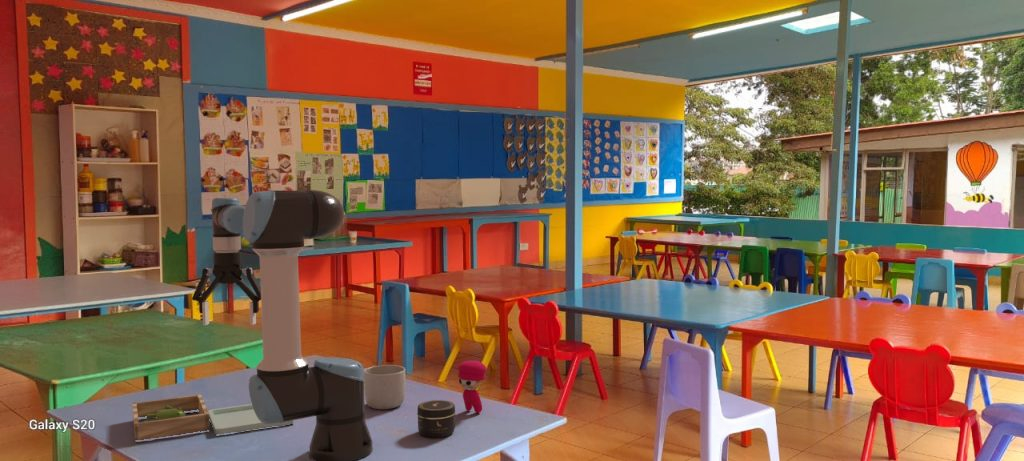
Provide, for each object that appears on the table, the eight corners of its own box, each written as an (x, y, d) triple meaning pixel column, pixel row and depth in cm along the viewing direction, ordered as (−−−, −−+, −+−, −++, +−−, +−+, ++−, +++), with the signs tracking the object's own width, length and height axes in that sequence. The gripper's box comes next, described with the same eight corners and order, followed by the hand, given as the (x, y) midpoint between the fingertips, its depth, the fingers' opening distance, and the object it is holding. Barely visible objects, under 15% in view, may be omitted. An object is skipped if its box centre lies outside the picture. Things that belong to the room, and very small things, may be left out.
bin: (209, 432, 204) (209, 413, 203) (135, 443, 195) (134, 424, 195) (201, 411, 223) (200, 394, 223) (133, 420, 215) (132, 403, 215)
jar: (421, 441, 195) (420, 412, 194) (414, 429, 204) (414, 401, 204) (459, 437, 197) (458, 408, 197) (451, 425, 207) (450, 398, 206)
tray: (293, 425, 209) (293, 417, 209) (215, 436, 200) (215, 429, 200) (279, 406, 227) (279, 400, 227) (207, 416, 217) (207, 409, 217)
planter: (357, 410, 222) (356, 373, 221) (374, 398, 234) (373, 364, 233) (396, 413, 219) (395, 375, 218) (412, 401, 231) (411, 365, 230)
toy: (452, 414, 217) (451, 362, 216) (467, 406, 224) (466, 356, 223) (478, 418, 213) (477, 365, 212) (492, 410, 220) (491, 359, 219)
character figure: (148, 399, 211) (194, 395, 214) (150, 413, 213) (196, 409, 216) (141, 427, 201) (189, 423, 204) (143, 442, 203) (191, 437, 206)
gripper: (274, 249, 221) (276, 321, 223) (189, 250, 221) (192, 322, 223) (266, 252, 214) (268, 326, 215) (178, 252, 214) (180, 327, 215)
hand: (229, 324), depth 219 cm, fingers open, 13 cm apart
